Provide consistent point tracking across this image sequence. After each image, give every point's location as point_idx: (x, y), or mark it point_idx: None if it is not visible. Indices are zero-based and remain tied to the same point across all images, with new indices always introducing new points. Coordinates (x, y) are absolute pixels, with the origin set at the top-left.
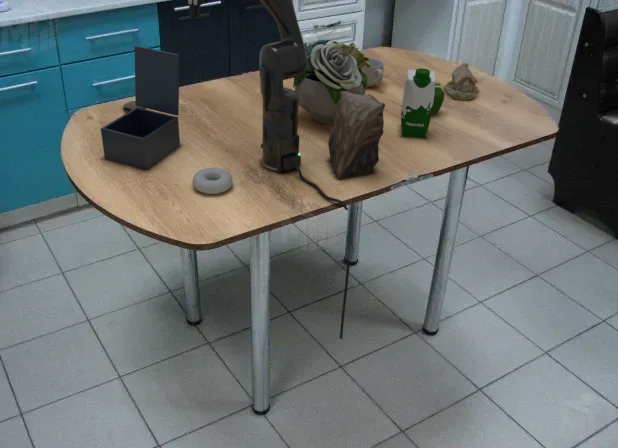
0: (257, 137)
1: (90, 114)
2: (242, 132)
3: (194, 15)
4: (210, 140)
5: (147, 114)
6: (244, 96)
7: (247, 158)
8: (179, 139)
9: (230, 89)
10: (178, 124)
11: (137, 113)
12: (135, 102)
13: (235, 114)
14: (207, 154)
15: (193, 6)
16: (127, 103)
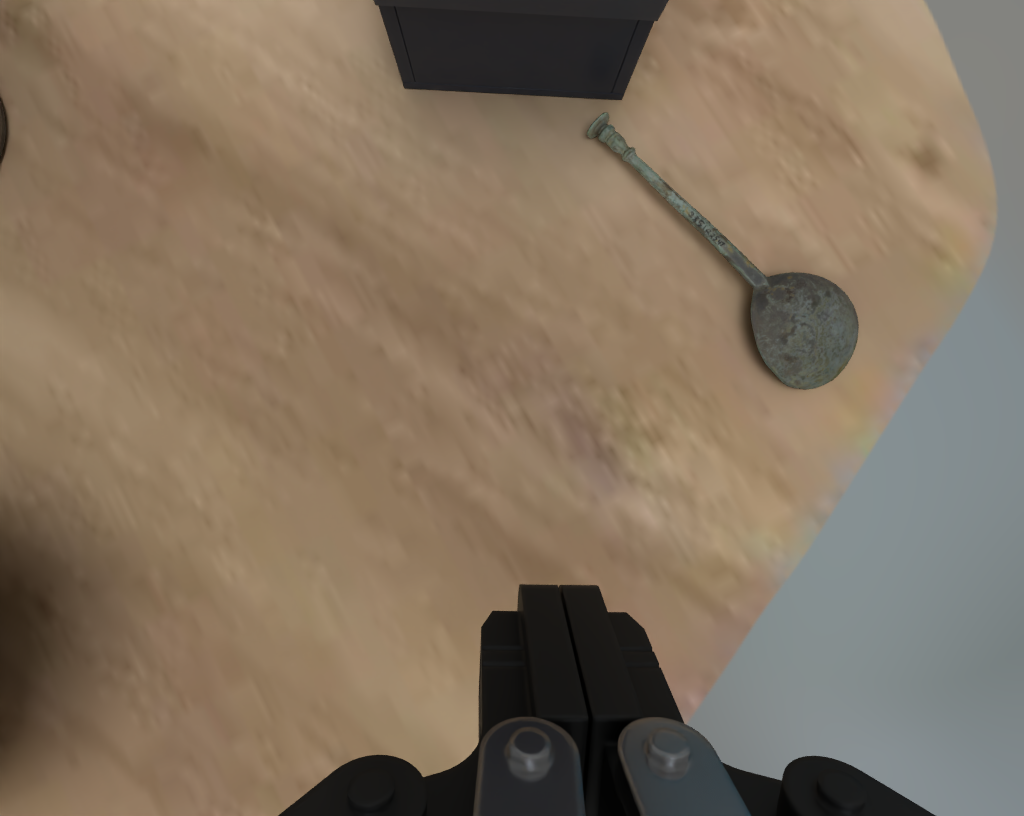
0: (131, 320)
1: (948, 193)
2: (217, 336)
3: (523, 601)
4: (311, 198)
5: None
6: (395, 713)
7: (80, 113)
8: (399, 69)
9: None
10: (385, 26)
11: None
12: (801, 318)
13: (337, 499)
14: (256, 70)
15: (565, 698)
16: (835, 303)
